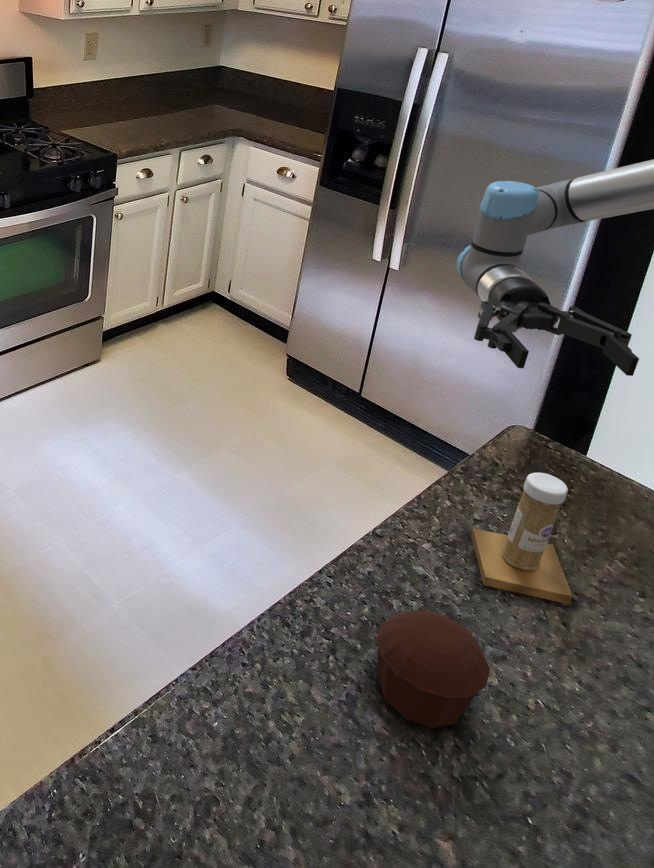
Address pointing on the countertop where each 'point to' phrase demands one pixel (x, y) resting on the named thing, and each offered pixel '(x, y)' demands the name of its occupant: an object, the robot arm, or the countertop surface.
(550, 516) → the sprinkles bottle
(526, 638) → the countertop surface
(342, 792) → the countertop surface
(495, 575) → the cutting board
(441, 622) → the muffin
